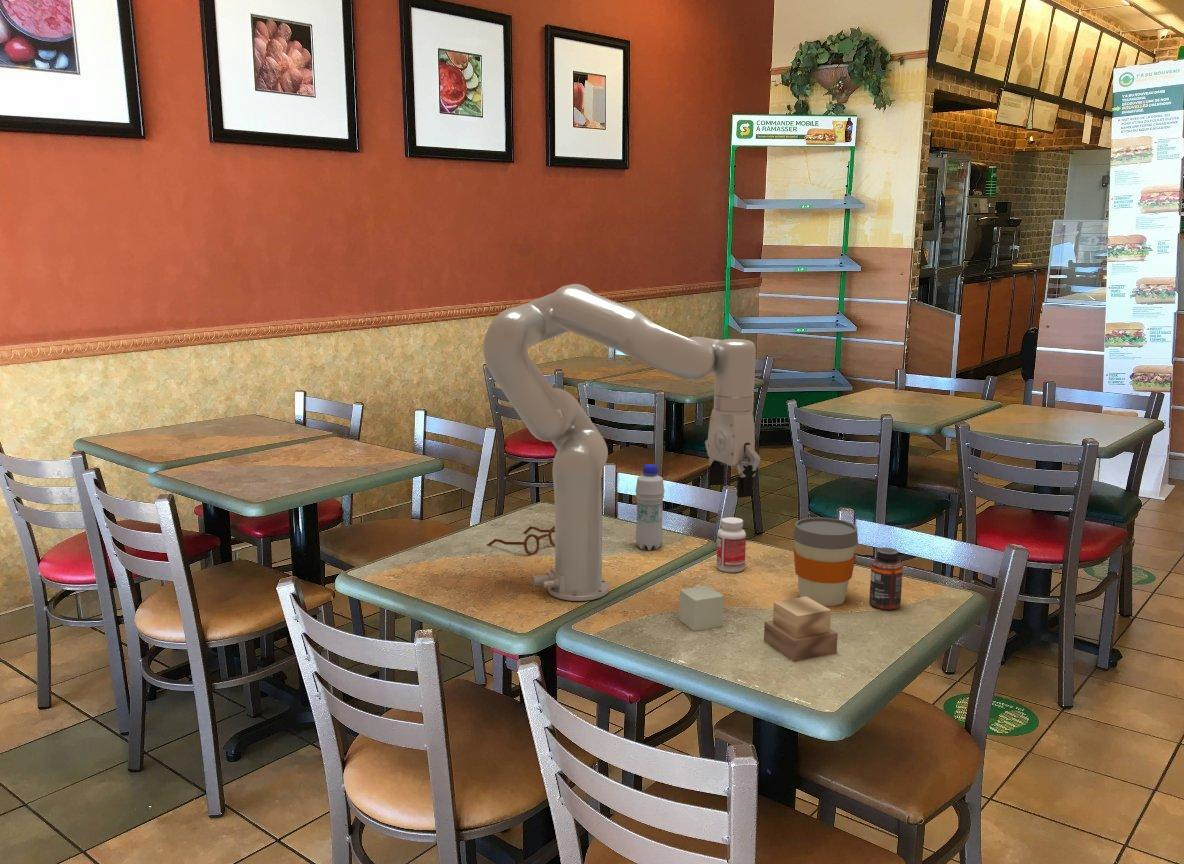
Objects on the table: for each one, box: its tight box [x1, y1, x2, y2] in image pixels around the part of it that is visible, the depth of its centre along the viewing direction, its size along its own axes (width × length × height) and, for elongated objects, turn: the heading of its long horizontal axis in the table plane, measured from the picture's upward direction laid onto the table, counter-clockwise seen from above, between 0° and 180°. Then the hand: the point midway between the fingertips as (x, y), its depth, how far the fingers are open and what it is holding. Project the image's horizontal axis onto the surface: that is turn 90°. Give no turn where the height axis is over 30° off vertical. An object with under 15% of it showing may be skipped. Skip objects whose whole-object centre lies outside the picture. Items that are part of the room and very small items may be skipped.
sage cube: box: [678, 584, 725, 632], centre depth 176 cm, size 6×6×6 cm
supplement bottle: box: [868, 547, 904, 611], centre depth 184 cm, size 6×6×11 cm
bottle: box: [635, 463, 665, 551], centre depth 218 cm, size 7×7×20 cm
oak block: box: [772, 596, 832, 638], centre depth 165 cm, size 7×7×4 cm
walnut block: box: [763, 620, 839, 662], centre depth 166 cm, size 9×9×4 cm
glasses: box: [486, 525, 555, 556], centre depth 222 cm, size 13×13×5 cm
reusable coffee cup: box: [792, 517, 859, 607], centre depth 188 cm, size 13×12×15 cm
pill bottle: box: [716, 516, 747, 573], centre depth 205 cm, size 6×6×11 cm
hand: (730, 490), depth 183 cm, fingers open, 9 cm apart
